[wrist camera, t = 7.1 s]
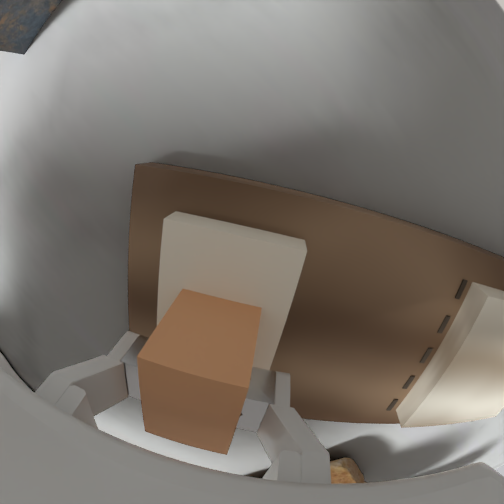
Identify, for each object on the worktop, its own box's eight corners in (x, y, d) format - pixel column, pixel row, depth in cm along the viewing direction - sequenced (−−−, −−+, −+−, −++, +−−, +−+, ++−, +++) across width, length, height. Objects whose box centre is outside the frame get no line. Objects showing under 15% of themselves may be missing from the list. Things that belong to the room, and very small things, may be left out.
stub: (255, 398, 14) (242, 481, 9) (164, 375, 14) (128, 449, 9) (304, 240, 10) (320, 317, 6) (175, 211, 11) (98, 261, 6)
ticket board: (472, 404, 15) (484, 429, 13) (142, 361, 16) (123, 393, 13) (547, 277, 11) (571, 295, 8) (151, 162, 12) (115, 167, 9)
